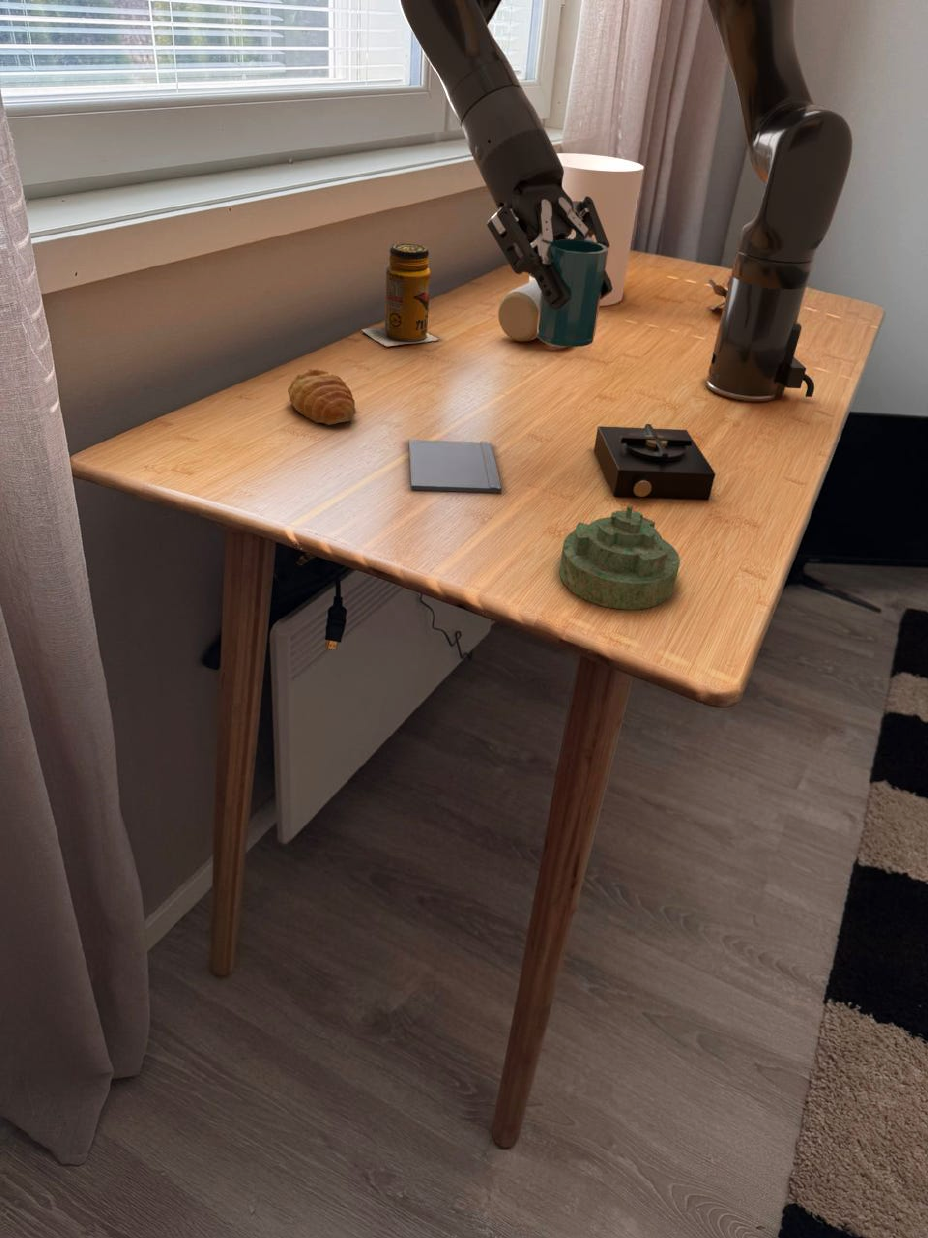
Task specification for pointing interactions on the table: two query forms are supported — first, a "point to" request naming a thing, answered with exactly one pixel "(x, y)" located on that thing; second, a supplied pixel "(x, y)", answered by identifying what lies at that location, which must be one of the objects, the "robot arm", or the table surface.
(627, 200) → the canister
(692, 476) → the stove
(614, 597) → the decorative artifact
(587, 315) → the dark teal cup
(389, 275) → the condiment
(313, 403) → the pastry
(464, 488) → the grey notebook
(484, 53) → the robot arm
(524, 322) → the ceramic mug
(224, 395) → the table surface
